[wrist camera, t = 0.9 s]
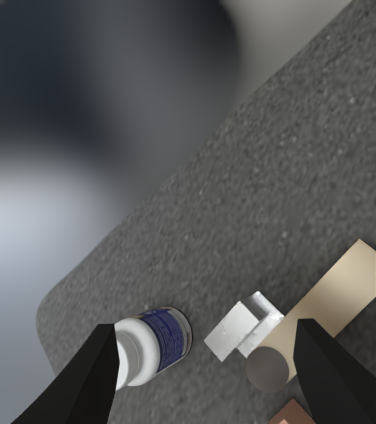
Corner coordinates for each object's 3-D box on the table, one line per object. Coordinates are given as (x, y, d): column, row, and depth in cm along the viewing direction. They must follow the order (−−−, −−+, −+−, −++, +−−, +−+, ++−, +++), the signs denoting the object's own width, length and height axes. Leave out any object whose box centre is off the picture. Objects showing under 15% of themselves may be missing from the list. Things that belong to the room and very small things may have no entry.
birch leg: (280, 381, 26) (268, 402, 22) (252, 351, 27) (236, 366, 24) (395, 267, 23) (402, 271, 19) (359, 239, 24) (359, 238, 21)
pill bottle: (169, 294, 32) (108, 311, 24) (203, 338, 30) (149, 372, 22) (138, 329, 33) (70, 355, 25) (168, 373, 31) (105, 416, 23)
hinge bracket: (315, 345, 25) (307, 364, 22) (273, 386, 27) (259, 411, 23) (258, 290, 28) (242, 297, 24) (222, 330, 29) (201, 343, 25)
